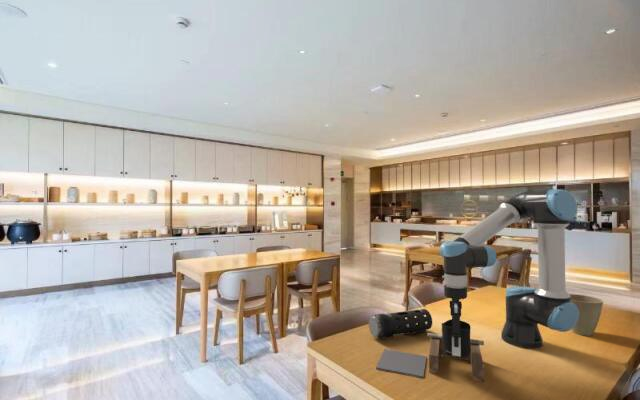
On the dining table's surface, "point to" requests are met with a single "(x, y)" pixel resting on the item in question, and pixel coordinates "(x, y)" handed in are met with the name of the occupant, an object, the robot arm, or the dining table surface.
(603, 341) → the dining table surface
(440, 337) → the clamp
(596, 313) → the plant pot
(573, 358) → the dining table surface
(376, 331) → the muzzle brake
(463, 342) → the pen holder
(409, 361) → the mat
